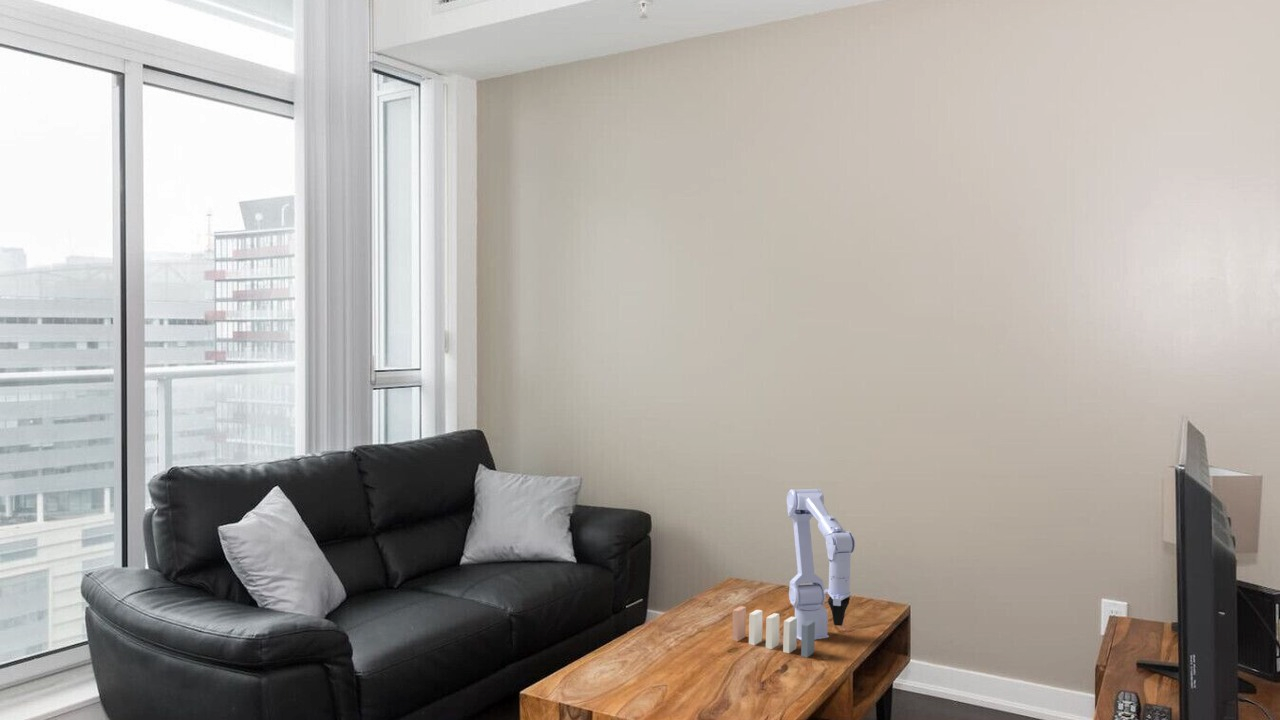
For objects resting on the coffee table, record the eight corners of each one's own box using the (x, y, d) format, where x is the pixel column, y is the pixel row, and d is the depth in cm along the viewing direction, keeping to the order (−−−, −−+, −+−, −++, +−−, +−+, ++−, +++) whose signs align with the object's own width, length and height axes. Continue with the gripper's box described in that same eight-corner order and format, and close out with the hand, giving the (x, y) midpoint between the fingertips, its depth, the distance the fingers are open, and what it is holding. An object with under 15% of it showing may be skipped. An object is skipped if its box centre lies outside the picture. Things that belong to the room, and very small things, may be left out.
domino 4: (796, 648, 268) (797, 617, 268) (788, 653, 264) (789, 622, 264) (790, 647, 269) (791, 616, 269) (783, 652, 265) (783, 620, 265)
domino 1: (745, 636, 277) (745, 607, 277) (737, 641, 273) (737, 611, 273) (740, 635, 279) (740, 606, 278) (732, 640, 274) (732, 610, 274)
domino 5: (814, 652, 265) (814, 621, 265) (807, 657, 261) (807, 625, 261) (808, 651, 266) (808, 620, 266) (801, 656, 262) (801, 624, 262)
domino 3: (779, 644, 271) (779, 614, 271) (771, 649, 267) (771, 618, 267) (773, 643, 272) (773, 612, 272) (765, 648, 268) (766, 617, 268)
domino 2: (762, 640, 274) (762, 610, 274) (754, 645, 270) (754, 614, 270) (756, 639, 275) (757, 609, 275) (748, 644, 271) (749, 613, 271)
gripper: (827, 567, 266) (826, 614, 266) (822, 581, 252) (821, 630, 252) (852, 569, 264) (851, 617, 264) (848, 583, 250) (847, 633, 250)
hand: (838, 624), depth 258 cm, fingers closed
